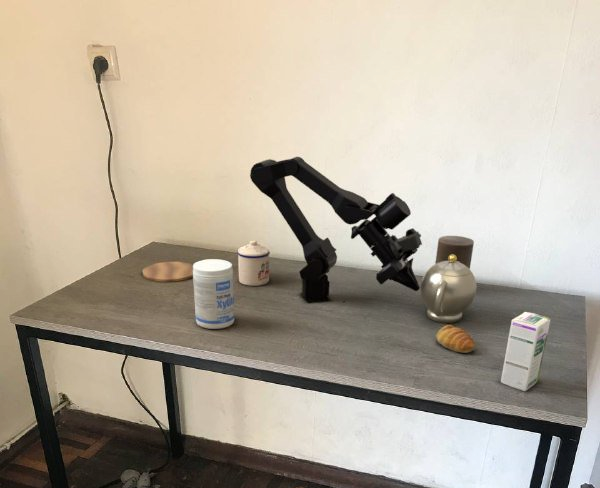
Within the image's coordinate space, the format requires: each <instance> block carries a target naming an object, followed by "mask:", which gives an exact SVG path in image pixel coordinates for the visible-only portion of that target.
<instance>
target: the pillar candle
mask: <svg viewBox="0 0 600 488" xmlns="http://www.w3.org/2000/svg"><path fill="white" fill-rule="evenodd" d="M474 245H475V241H474V239H472V238H469V237H466V236H461V235H444V236H440V237H438V242H437V248H436V255H435V261H434V262H435V264H437V263H439V262H442V261H448V257H449V256H450V255H452V254H454V255H455V256H456V257H457V260H456V261H458V262H460V263H462V264H464V265H465V266H467V267H468V268H469V269H470V270H471V263H472V257H473V251H474ZM435 264H434V265H435Z"/></svg>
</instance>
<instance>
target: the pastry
mask: <svg viewBox="0 0 600 488" xmlns="http://www.w3.org/2000/svg"><path fill="white" fill-rule="evenodd" d="M435 339H436V340H437V342H438V344H441V345H442V347H444V348H446V349H449V351H453V352H456V353H462V354H467V353H470V352H473V351H474V349H475V348H476V343H475V342H474V339H473V338H472V337H471V335H470V334H468V333H467V331H466V330H463V329H462V328H461V327H455V326H454V325H452V324H445V325H444V326H443V327H441V328H440V329H439V330H438V331H437V334H436V335H435Z"/></svg>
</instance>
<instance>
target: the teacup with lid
mask: <svg viewBox="0 0 600 488" xmlns="http://www.w3.org/2000/svg"><path fill="white" fill-rule="evenodd" d="M270 253H271V252H270V250H269V248H268V247H266V246H264V245H261V244H259V243H258V241H257V240H250V241H249V243H247V244H245V245H243V246H241V247H239V248H238V249H237V257H238V258H237V260H238V281H239V283H240V284H242V285H245V286H249V287H256V286H257V287H258V286H259V287H260V286H263V285H266V284H268V283H269V281H270Z"/></svg>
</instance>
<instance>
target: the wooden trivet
mask: <svg viewBox="0 0 600 488" xmlns="http://www.w3.org/2000/svg"><path fill="white" fill-rule="evenodd" d="M193 265H194V264H192V263H189V262H183V261H162V262H157V263H153V264H150V265H148V266H146V267H144V268H143V269H142V276H143V277H144V278H145V279H147V280H150V281H152V282H153V281H154V282H158V283H159V282H161V283H173V282H180V281H181V282H182V281H186V280H189V279H193Z"/></svg>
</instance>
